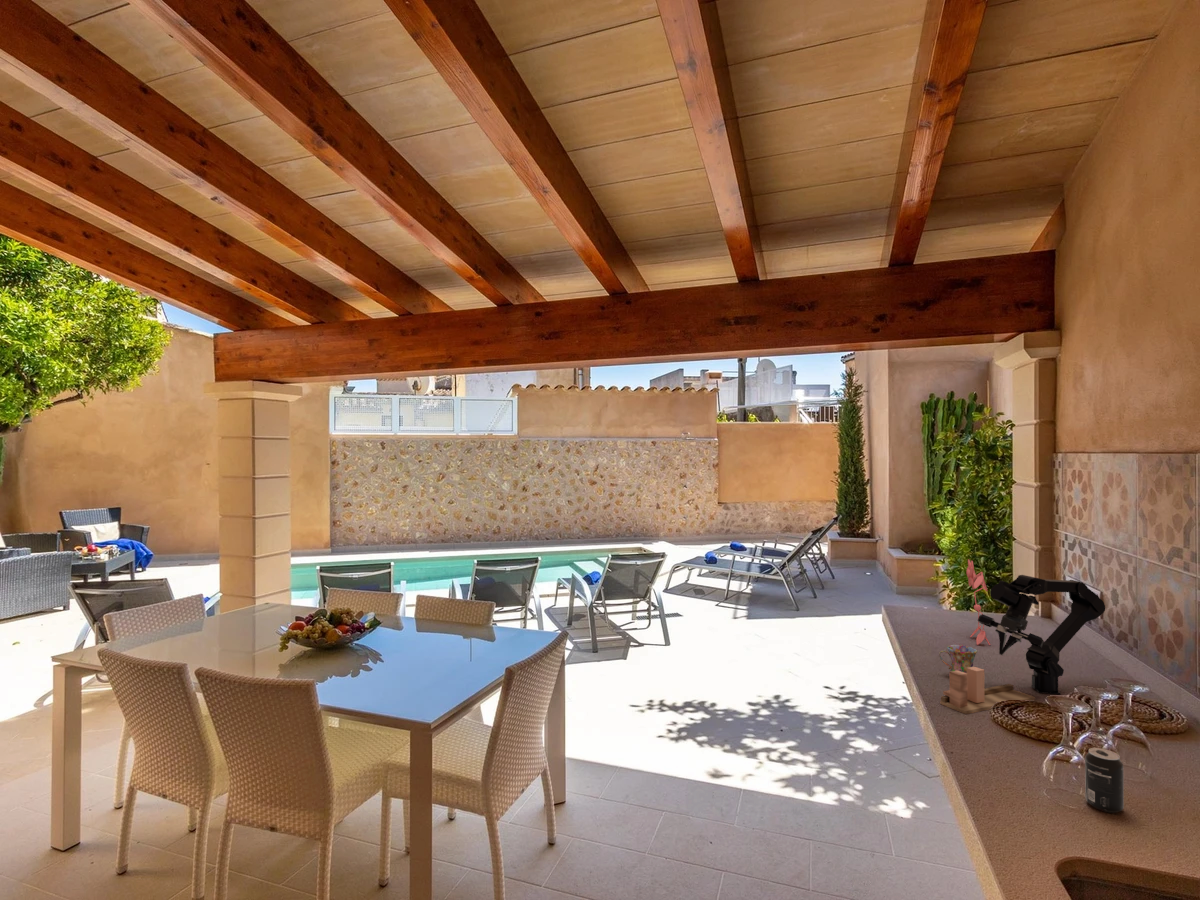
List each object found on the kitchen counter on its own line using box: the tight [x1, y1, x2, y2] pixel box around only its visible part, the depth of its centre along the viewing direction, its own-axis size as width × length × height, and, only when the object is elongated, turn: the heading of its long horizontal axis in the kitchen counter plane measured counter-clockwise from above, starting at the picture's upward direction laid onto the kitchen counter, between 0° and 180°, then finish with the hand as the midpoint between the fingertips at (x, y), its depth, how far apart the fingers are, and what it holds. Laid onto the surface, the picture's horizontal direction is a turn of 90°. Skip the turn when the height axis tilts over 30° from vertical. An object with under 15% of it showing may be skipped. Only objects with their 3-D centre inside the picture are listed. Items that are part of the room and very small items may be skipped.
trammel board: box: [939, 670, 1036, 715], centre depth 209 cm, size 32×9×11 cm, turn 112°
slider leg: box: [967, 666, 985, 703], centre depth 209 cm, size 4×6×10 cm, turn 22°
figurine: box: [965, 558, 991, 646], centre depth 280 cm, size 15×26×35 cm, turn 158°
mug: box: [938, 644, 978, 677], centre depth 232 cm, size 12×9×11 cm
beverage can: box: [1084, 747, 1125, 814], centre depth 146 cm, size 7×7×12 cm
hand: (1000, 654), depth 217 cm, fingers closed
